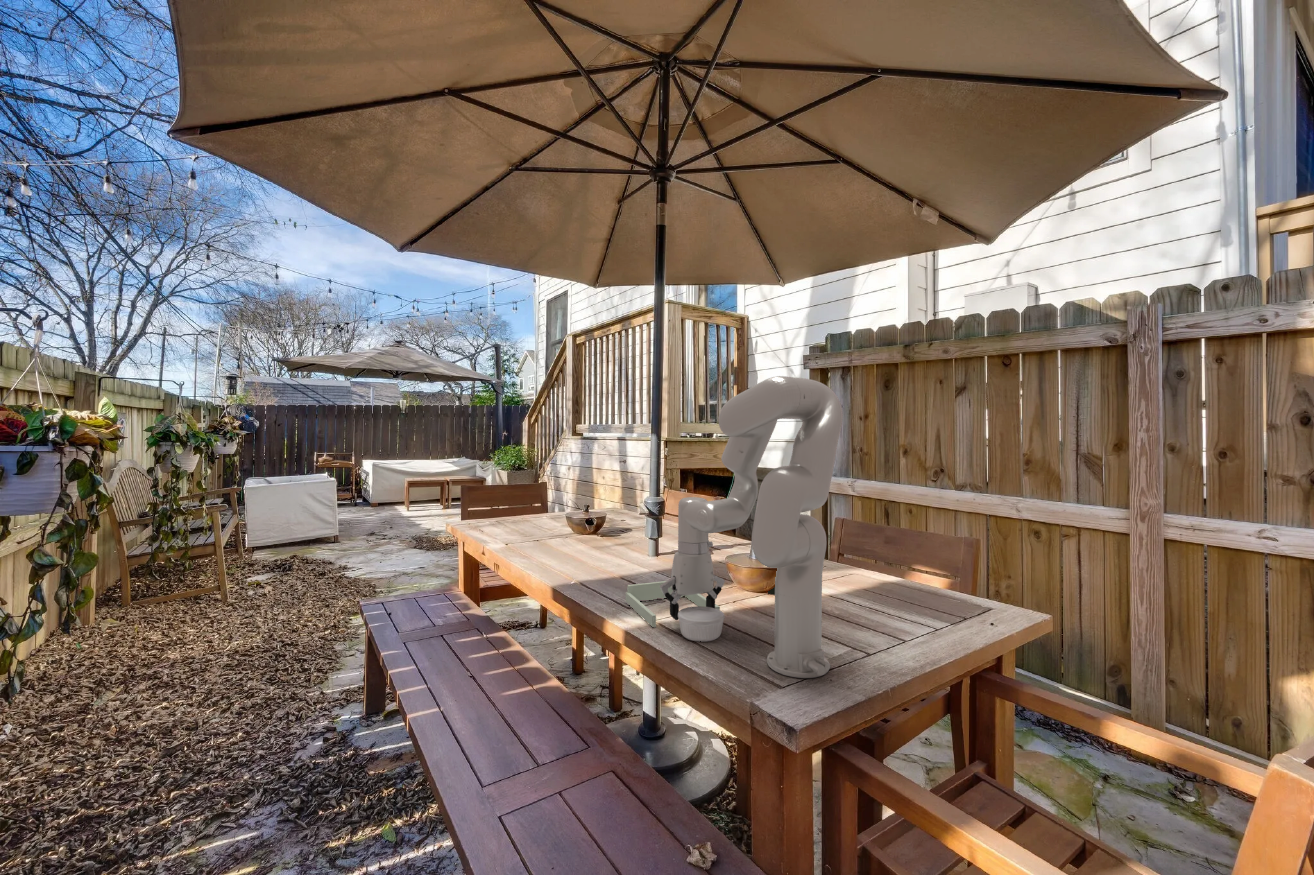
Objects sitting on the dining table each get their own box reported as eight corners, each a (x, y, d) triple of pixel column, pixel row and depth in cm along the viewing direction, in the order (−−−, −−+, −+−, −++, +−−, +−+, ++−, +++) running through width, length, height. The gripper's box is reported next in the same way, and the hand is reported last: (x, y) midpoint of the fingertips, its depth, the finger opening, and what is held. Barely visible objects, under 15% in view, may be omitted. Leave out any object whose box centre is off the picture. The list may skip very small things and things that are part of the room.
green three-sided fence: (719, 618, 143) (719, 599, 143) (652, 627, 136) (652, 607, 136) (686, 595, 163) (686, 578, 163) (625, 602, 156) (625, 585, 156)
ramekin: (723, 627, 137) (723, 606, 137) (725, 644, 126) (725, 622, 126) (678, 626, 138) (678, 605, 138) (677, 643, 127) (677, 620, 127)
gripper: (716, 542, 143) (716, 607, 143) (655, 547, 136) (654, 615, 137) (731, 548, 136) (730, 616, 136) (666, 553, 129) (666, 625, 130)
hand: (692, 615), depth 136 cm, fingers open, 9 cm apart
